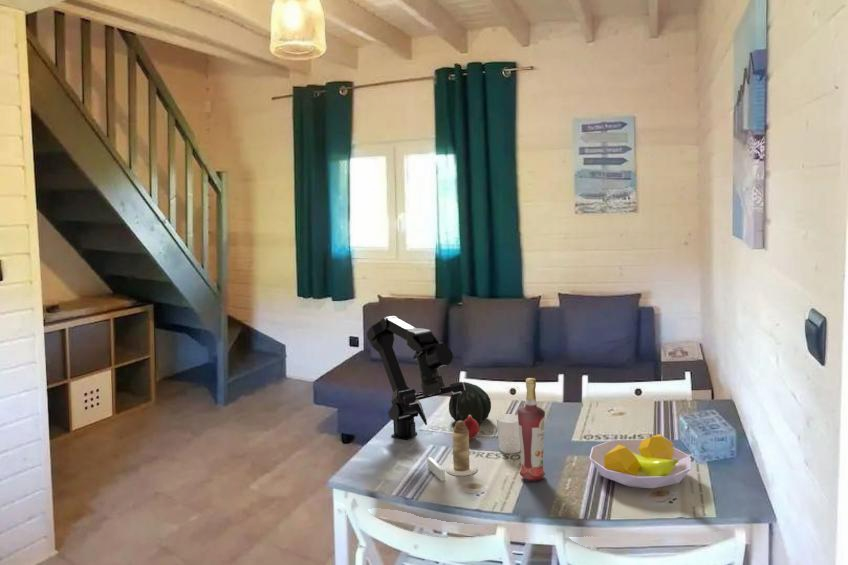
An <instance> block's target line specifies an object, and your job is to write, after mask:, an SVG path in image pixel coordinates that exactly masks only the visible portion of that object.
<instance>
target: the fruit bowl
mask: <svg viewBox="0 0 848 565" xmlns="http://www.w3.org/2000/svg"><path fill="white" fill-rule="evenodd" d="M589 460H590V461H591V463H592V464H593V466H594V468H596V470H597V471H598V473H599V474H600V475H601V477H603V478H606V479H608V480H611V481H613V482H616V483H619V484H621V485H624V486H627V487H628V488H629V487H630V488H639V489H640V488H643V489H657V488H661V487H666V486H670V485H675V484H679V483H681V481H682V480H683V479H684V478H685V476H686V475H687V474H688V473H689V472H690V471H691V469H692V463H691V462H692V461H691V456H690V455H689V454H687V453H685V452H683V451H682V450H680V449H678V448H677V447H674V443H673V441H671V440H669V439H668V438H667V437H665V436H664V435H662V434H661V433H658V434H656V435H653V436H650V437H647V438H644V439H638V438H637V439H611V440H608V441H605V442H603V443H600V444H596V445H593V446H592V448H591V450H590V455H589Z"/></svg>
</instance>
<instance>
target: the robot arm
mask: <svg viewBox="0 0 848 565" xmlns="http://www.w3.org/2000/svg"><path fill="white" fill-rule="evenodd" d="M395 335H396V336H398V337H400V338H402V339H403V340H404V341H406V345H407V346H408V347H409V349H411V350H412V351H415V352H414V353H415V354H414V355H413V356H412V359H413V360H416V362H417V367H418V371H419V375H420V378H421V383H420V384H421V385H420V387H421V390H422V393H418V392H417V391H416V390H415V388H410V387H409V386H408V385H407V382H406V379H405V377H404V374H403V371H402V368H401V365H400V363H399V360H398V358H397V355H396V353H395V350H394V342H395ZM366 338H367V340H368V341H369V344H370V345H371V348H373V349H374V350H375V351H376V352H378V354H379V356H380V359H381V362H382V365H383V368H384V371H385V373H386V375H387V378H388V382H389V384H390V388H391V389H392V397H391V404H392V406H391V407H390V409H388V412H387V415H388V418H389V419H390V420H392V421H393V422H392V423H393V433H392V434H391V435H390V437H392V438H396V439H399V440H400V439H401V440H405V441H407V440H409V439H411V438H412V437H414V436H416V435H417V434H418V431H416V422H415V418H417V417H420V419H421V420H422V422H423V423H424V425H425V426H427V425H428V422H427V418H426V415H425V411H424V409H423V405H422V403H421V402H420V400H424V399H428V398H432V397H436V396H441V395H445V394H449V393H451V395H450V397H452V403H453V411H454V416H455V418H457V404H458V399H459V395H460V394H462V392H461V391H464V390H466V389H465V385H464V383H463V382H464V381H458V382H453V383H450V384H449V386H447V387H446V383H445V379H444V377H443V376H444V375H441V374H440V371H439V368H442V367H445V366H448V365H450V364H451V363H452V362H453V359H454V358H453V356H454V355H453V352H452V351H451V349H450V348H449V347H448V346H445V343H444V342H440V341H439V339H438V338H437V337H436V335H434V333H433V331H431V330H430V329H427V328H419V327H414V326H413V325H411V324H410V323H407V322H406V321H404V320H402V319H400V318H398V316H396V315H389V316H385V317H384V316H383V318H381V319H380V321H378V322H376V323H375V324H372V326H370V327H369V329H368V331H367V332H366ZM452 394H453V395H452Z"/></svg>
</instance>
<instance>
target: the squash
mask: <svg viewBox="0 0 848 565" xmlns="http://www.w3.org/2000/svg"><path fill="white" fill-rule="evenodd" d="M462 382H463V383H464V385H465V389H466V390H464V391H461V392H462V394H460V395H459V399H458V404H457V418H455V416H454V411H453V403H452V397H451V396H450V397H449V403H448V413H449V414H450V417H451V418H452V419H453V421H455V423H456V422H457V421H459V420H461V421H464V420H465V419H467V418H468V416H469V415H471V416H472V418H473V419H475V420H476V421H477V423H478V425H479V424H480V423H481V422H482V421H486V420H488V418H489V414H490V413H491V410H492V401H491V399H490V395H489V394H488V393H487V392H486V391H485V390H484V389H483V388H481V387H480V386H478V385H476V384H473V383H470V382H466V381H462ZM451 395H453V393H451Z"/></svg>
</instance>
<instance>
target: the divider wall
mask: <svg viewBox="0 0 848 565" xmlns="http://www.w3.org/2000/svg"><path fill="white" fill-rule="evenodd" d="M427 469H428V470H430V471H431V473H433V475H435V477H436V478H438V479H439V480H440V481H441V482H442V481H445V478H446V476H445V475H446V474H445V469H444V468H443V467H442V466H441V465H440V464H439V463H437V461H435V460H434V459H433V457H427Z"/></svg>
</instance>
